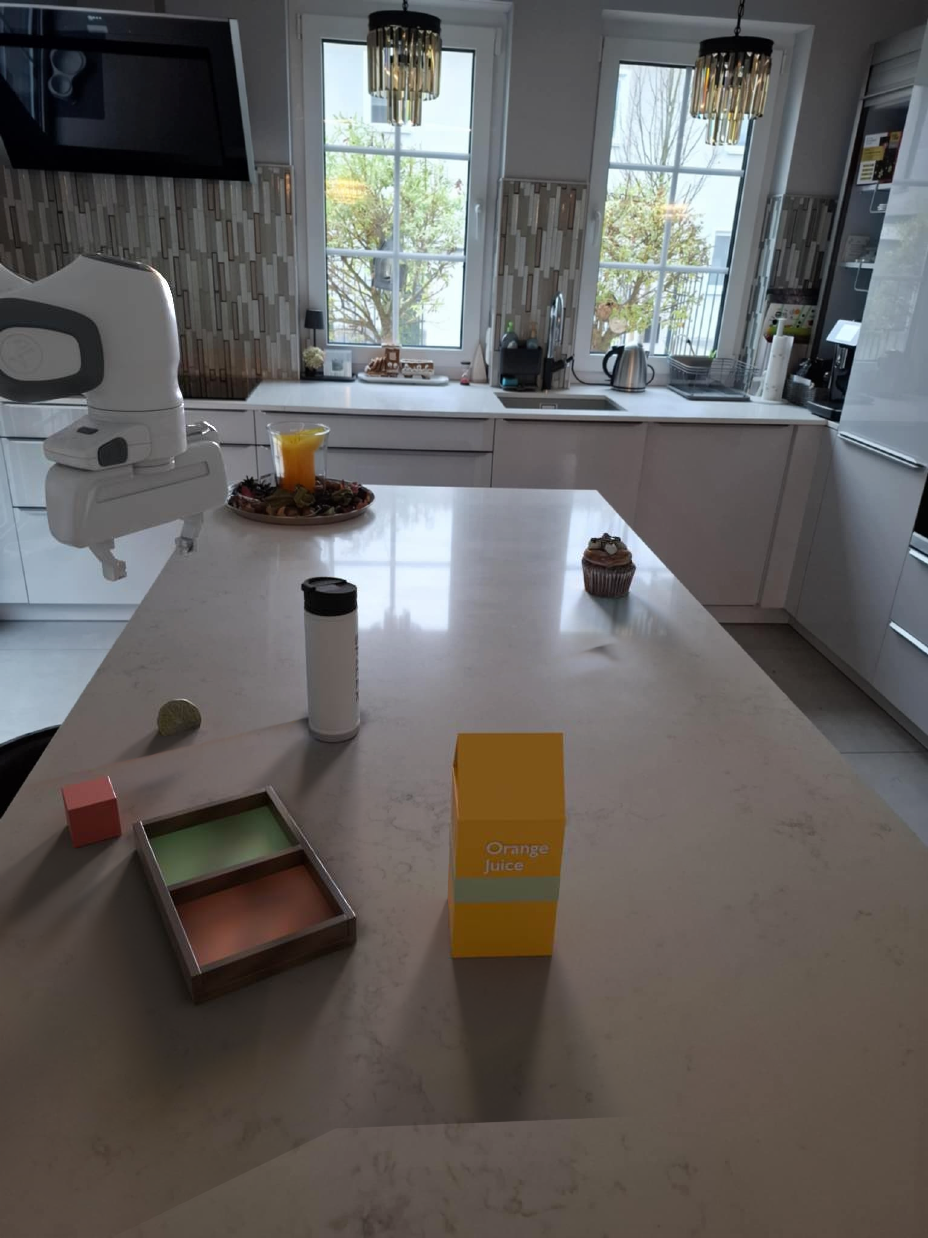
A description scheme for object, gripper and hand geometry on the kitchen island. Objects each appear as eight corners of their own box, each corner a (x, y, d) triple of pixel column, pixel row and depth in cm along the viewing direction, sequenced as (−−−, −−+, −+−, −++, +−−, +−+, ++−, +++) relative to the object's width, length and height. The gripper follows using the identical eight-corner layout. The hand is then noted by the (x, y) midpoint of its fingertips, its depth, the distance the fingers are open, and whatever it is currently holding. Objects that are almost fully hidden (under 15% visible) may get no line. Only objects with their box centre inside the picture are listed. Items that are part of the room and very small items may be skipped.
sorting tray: (194, 1005, 69) (191, 977, 68) (135, 848, 86) (132, 823, 85) (356, 943, 76) (356, 916, 74) (272, 808, 93) (270, 785, 92)
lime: (207, 732, 106) (204, 696, 104) (180, 751, 102) (176, 714, 100) (179, 723, 108) (175, 688, 106) (151, 741, 104) (146, 705, 102)
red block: (74, 848, 86) (67, 810, 84) (67, 823, 89) (61, 786, 87) (122, 835, 88) (116, 798, 86) (113, 811, 91) (108, 775, 90)
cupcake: (621, 604, 150) (627, 548, 146) (570, 591, 154) (575, 537, 150) (641, 587, 157) (648, 534, 153) (592, 576, 162) (597, 524, 158)
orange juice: (446, 896, 81) (453, 709, 73) (539, 894, 82) (556, 709, 74) (451, 959, 74) (459, 760, 66) (553, 957, 75) (573, 759, 67)
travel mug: (297, 728, 108) (289, 577, 100) (342, 712, 112) (338, 566, 104) (323, 749, 104) (318, 594, 96) (369, 732, 108) (368, 582, 100)
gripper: (195, 414, 95) (204, 535, 101) (25, 445, 79) (47, 587, 84) (238, 422, 92) (245, 546, 98) (72, 455, 76) (91, 601, 82)
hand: (152, 565), depth 91 cm, fingers open, 8 cm apart
